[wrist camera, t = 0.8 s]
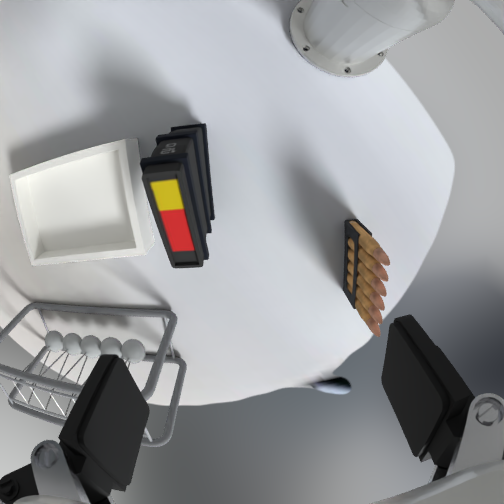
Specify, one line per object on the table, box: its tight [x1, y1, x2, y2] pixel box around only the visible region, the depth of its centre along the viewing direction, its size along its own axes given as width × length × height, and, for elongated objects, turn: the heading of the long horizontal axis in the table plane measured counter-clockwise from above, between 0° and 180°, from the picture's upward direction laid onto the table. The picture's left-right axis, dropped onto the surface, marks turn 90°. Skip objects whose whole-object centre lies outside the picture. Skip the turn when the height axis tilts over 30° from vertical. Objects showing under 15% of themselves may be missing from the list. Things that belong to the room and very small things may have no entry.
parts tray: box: [9, 138, 155, 266], centre depth 34 cm, size 14×20×4 cm
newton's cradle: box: [0, 302, 186, 447], centre depth 36 cm, size 30×10×18 cm, turn 91°
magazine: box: [140, 124, 215, 268], centre depth 30 cm, size 4×13×15 cm, turn 3°
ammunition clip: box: [343, 219, 390, 337], centre depth 33 cm, size 11×2×12 cm, turn 6°
